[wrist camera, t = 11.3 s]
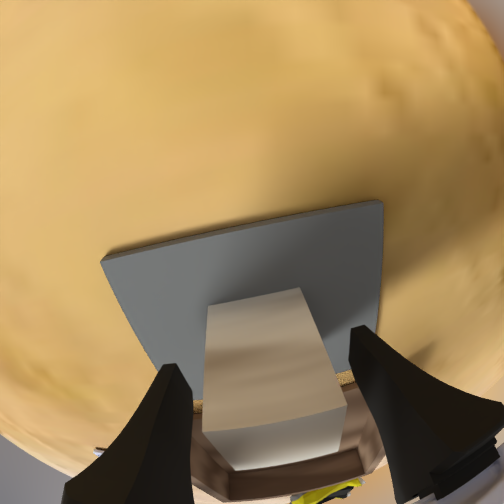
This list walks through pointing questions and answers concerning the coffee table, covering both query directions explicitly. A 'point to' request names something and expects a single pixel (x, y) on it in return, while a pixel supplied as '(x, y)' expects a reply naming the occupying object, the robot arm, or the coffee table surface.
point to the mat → (253, 280)
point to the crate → (292, 474)
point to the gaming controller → (326, 493)
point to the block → (269, 383)
